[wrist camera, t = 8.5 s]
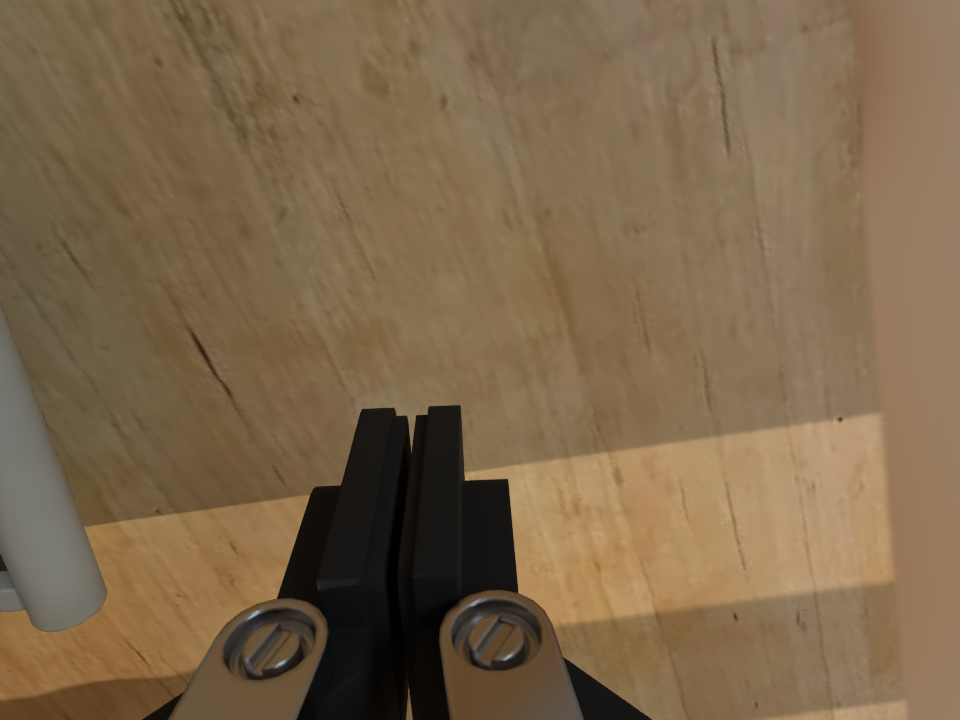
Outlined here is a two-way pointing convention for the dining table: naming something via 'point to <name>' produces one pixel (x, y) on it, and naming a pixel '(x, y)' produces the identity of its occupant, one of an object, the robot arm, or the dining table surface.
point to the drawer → (38, 513)
